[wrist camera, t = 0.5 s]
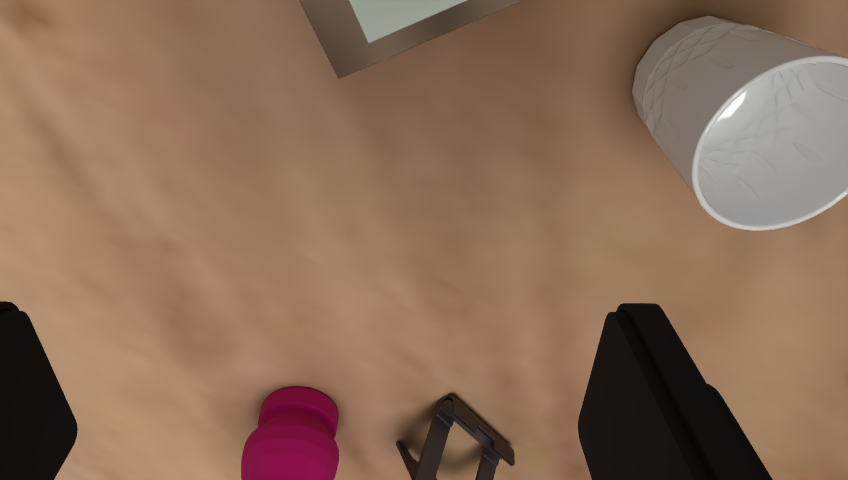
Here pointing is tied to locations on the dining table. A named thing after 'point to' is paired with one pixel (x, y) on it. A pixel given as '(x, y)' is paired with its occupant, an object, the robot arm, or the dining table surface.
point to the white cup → (748, 120)
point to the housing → (395, 14)
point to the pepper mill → (293, 438)
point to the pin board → (353, 52)
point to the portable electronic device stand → (437, 436)
